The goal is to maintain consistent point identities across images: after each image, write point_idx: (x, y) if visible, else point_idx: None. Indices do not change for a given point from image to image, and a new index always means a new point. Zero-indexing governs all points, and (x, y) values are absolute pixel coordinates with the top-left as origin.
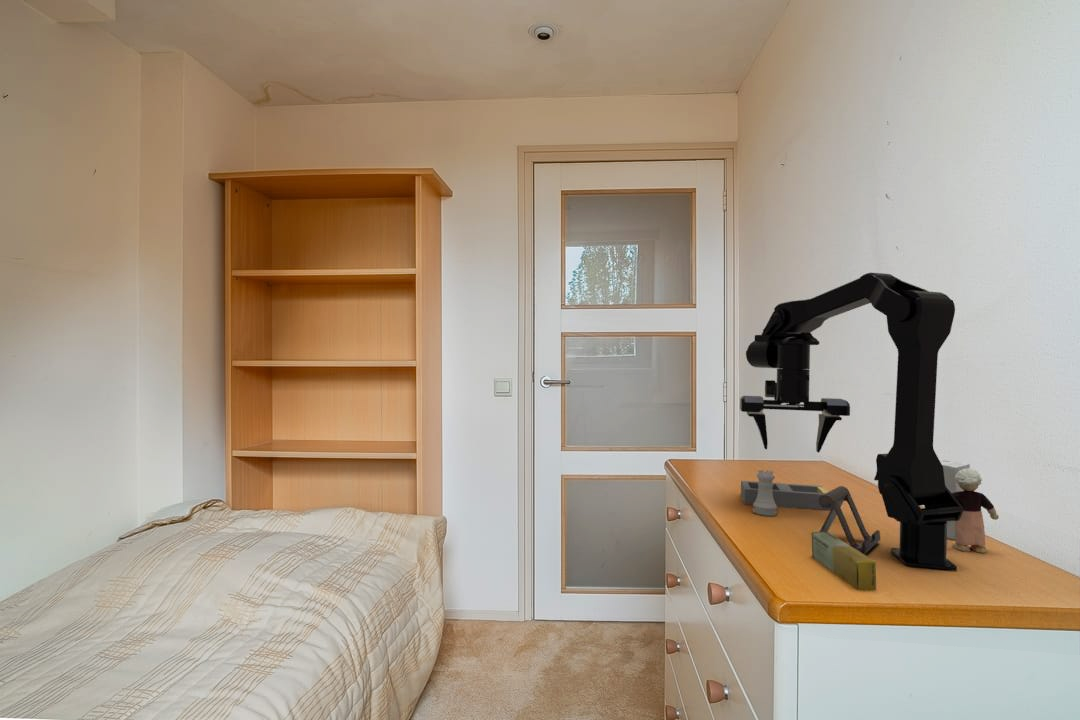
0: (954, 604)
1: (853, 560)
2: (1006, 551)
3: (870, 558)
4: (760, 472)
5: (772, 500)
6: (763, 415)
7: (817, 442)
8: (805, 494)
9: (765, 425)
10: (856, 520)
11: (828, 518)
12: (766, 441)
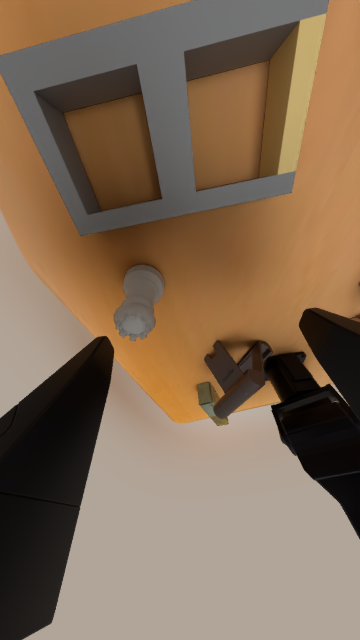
0: (258, 406)
1: (216, 424)
2: None
3: (227, 422)
4: (123, 336)
5: (155, 300)
6: (46, 610)
7: (331, 349)
8: (224, 206)
9: (80, 497)
10: (252, 364)
11: (220, 383)
12: (105, 386)
